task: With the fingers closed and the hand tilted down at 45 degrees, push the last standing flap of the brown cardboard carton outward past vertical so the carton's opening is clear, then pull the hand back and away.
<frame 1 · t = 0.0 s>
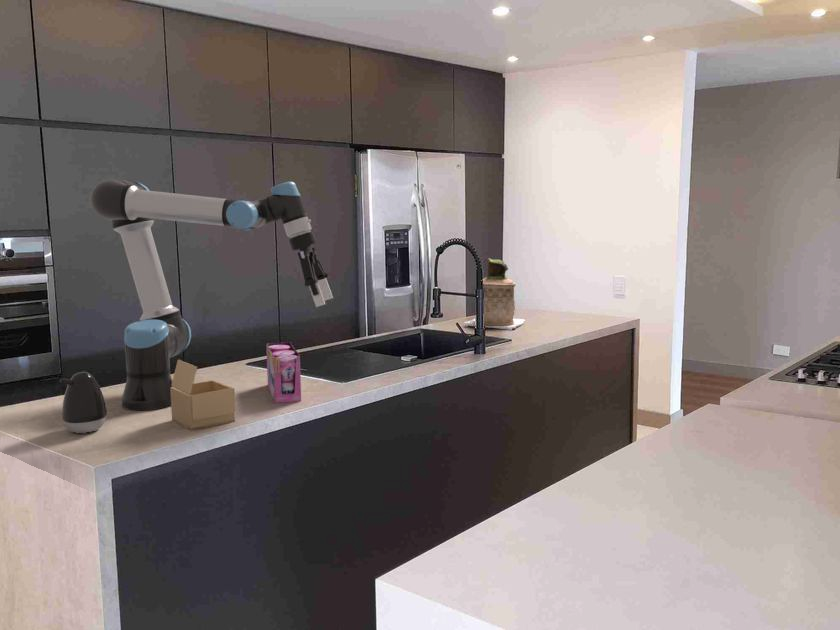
hand: (325, 302, 212), 28 cm above the countertop, tool tilted 20°, fingers open, 13 cm apart
gum box: (283, 393, 218), on the countertop
carton: (203, 420, 189), on the countertop
pump dispenser: (85, 431, 181), on the countertop
front flap: (184, 376, 184), point 13 cm above the countertop, hinge at 72.0°
cookie jar: (495, 325, 341), on the countertop
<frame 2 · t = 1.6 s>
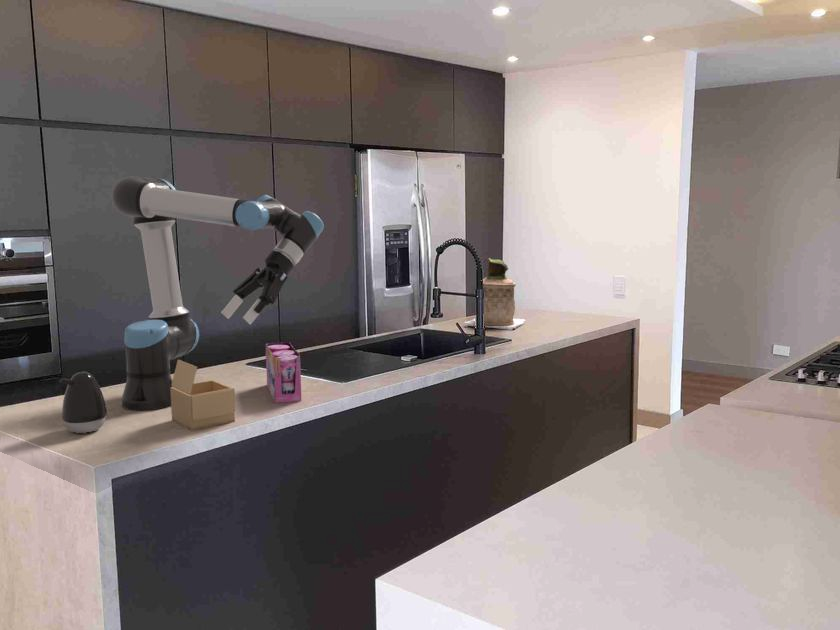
hand: (235, 318, 192), 26 cm above the countertop, tool tilted 45°, fingers open, 12 cm apart
nothing on the countertop moved.
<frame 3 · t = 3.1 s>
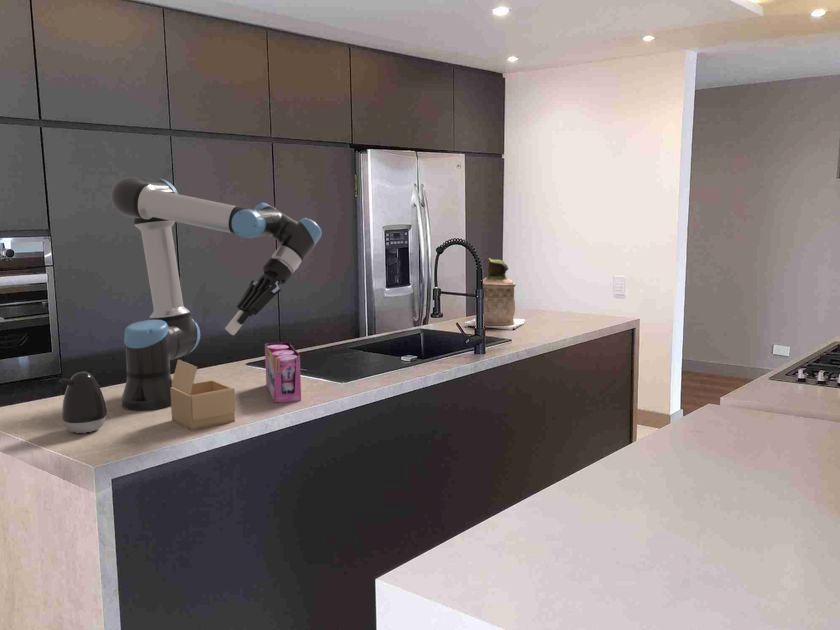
hand: (229, 332, 191), 23 cm above the countertop, tool tilted 45°, fingers closed
nothing on the countertop moved.
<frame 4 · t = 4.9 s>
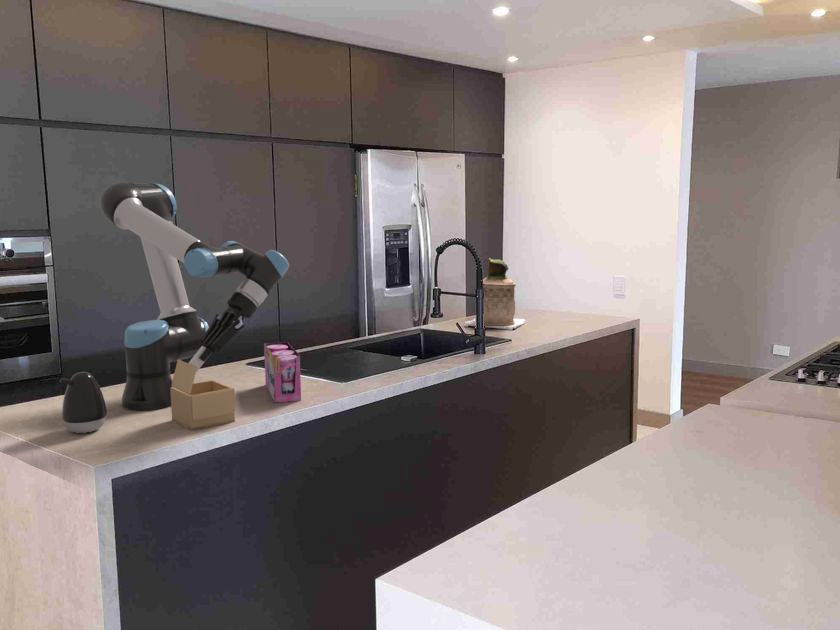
hand: (191, 369, 185), 14 cm above the countertop, tool tilted 45°, fingers closed
front flap: (184, 376, 184), point 13 cm above the countertop, hinge at 72.1°, touching gripper
everything else where it was.
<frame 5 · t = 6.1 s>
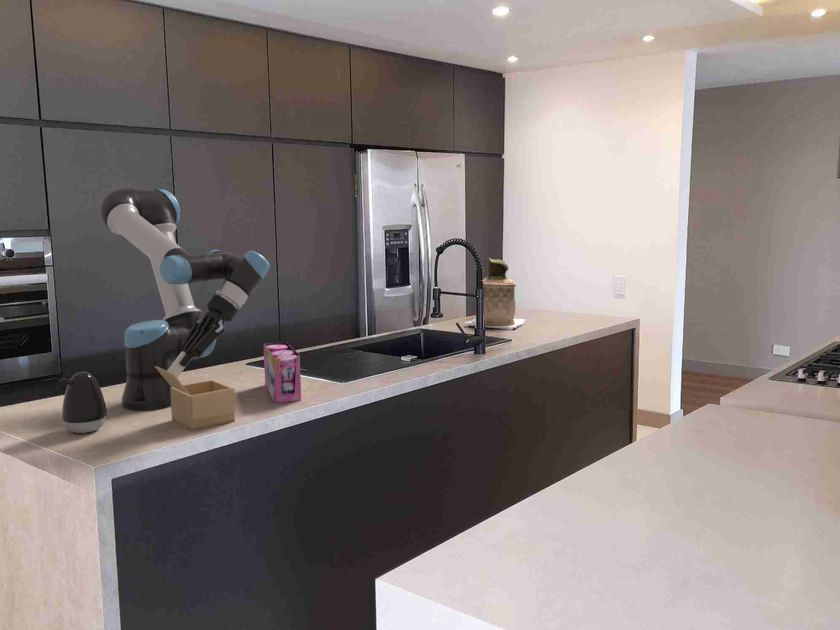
hand: (171, 375, 181), 14 cm above the countertop, tool tilted 45°, fingers closed
front flap: (172, 380, 182), point 12 cm above the countertop, hinge at 124.1°, touching gripper
everything else where it was.
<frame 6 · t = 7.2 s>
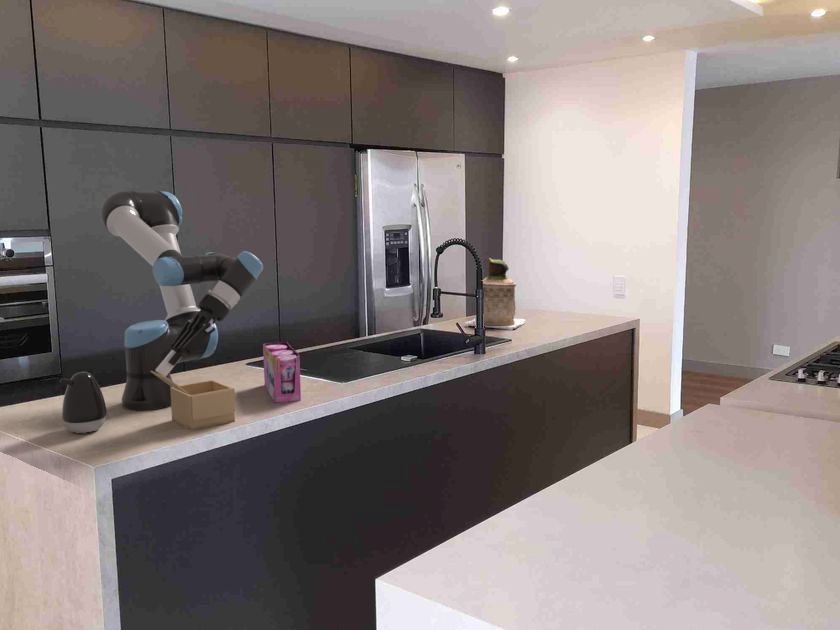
hand: (160, 373, 180), 15 cm above the countertop, tool tilted 45°, fingers closed
front flap: (169, 382, 182), point 12 cm above the countertop, hinge at 136.8°, touching gripper
everything else where it was.
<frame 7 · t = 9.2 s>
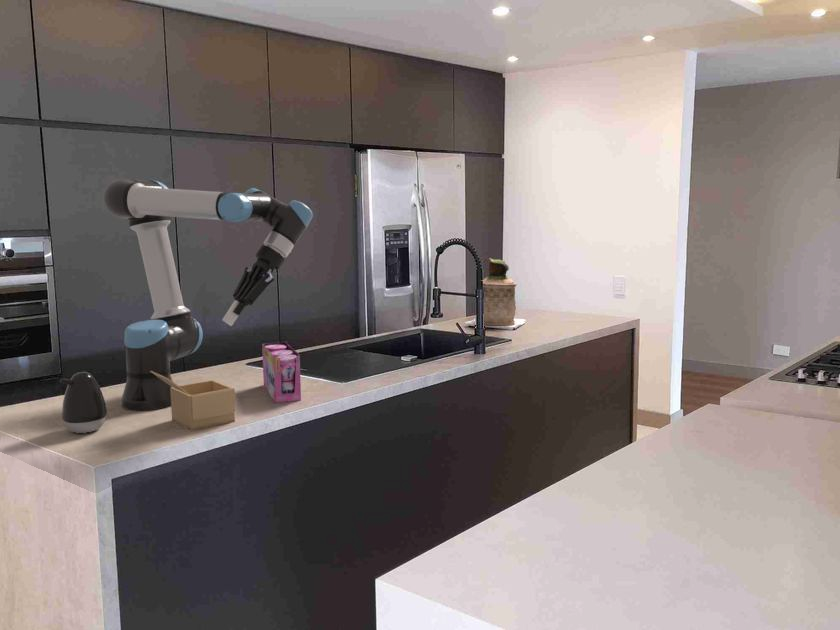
hand: (226, 323, 193), 25 cm above the countertop, tool tilted 35°, fingers closed
front flap: (169, 382, 182), point 12 cm above the countertop, hinge at 137.0°
everything else where it was.
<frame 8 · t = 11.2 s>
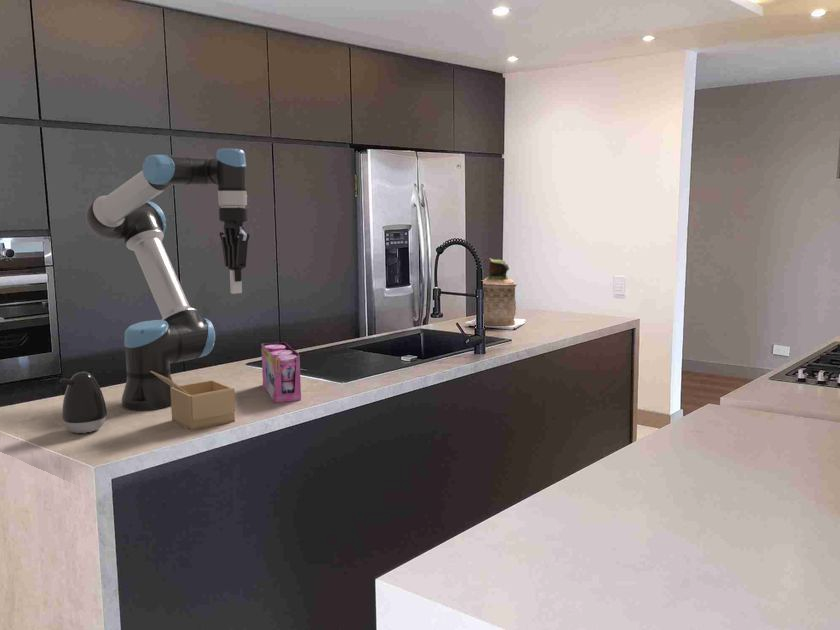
hand: (236, 293, 198), 32 cm above the countertop, tool pointing down, fingers closed
nothing on the countertop moved.
at the end: front flap at +137° (first picture: +72°) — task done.
